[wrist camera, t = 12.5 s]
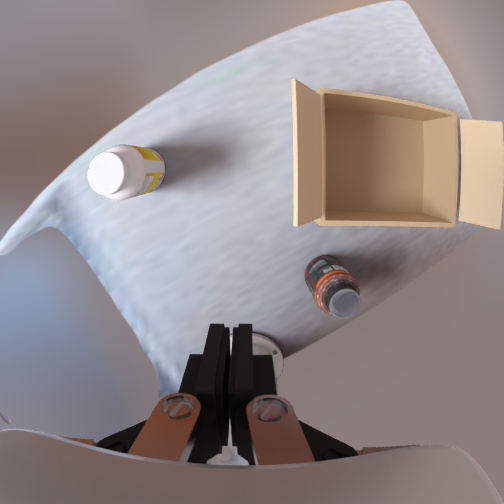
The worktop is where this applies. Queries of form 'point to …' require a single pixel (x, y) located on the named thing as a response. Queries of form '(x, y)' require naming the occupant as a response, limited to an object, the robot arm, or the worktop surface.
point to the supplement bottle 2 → (332, 287)
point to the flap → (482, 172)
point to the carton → (387, 161)
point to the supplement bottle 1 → (126, 172)
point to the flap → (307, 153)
